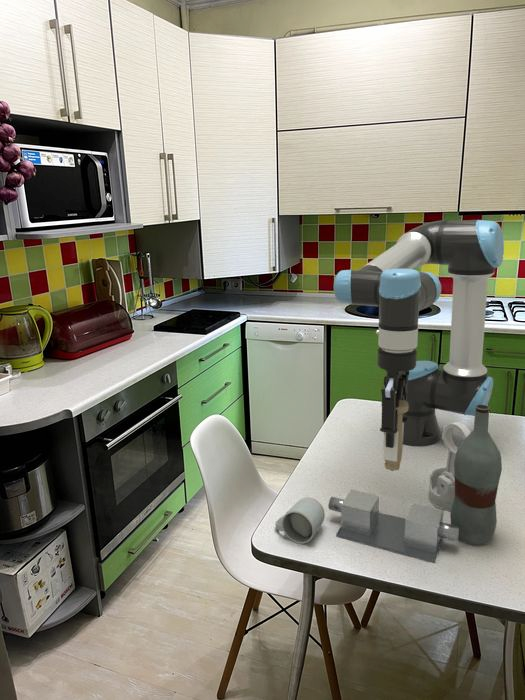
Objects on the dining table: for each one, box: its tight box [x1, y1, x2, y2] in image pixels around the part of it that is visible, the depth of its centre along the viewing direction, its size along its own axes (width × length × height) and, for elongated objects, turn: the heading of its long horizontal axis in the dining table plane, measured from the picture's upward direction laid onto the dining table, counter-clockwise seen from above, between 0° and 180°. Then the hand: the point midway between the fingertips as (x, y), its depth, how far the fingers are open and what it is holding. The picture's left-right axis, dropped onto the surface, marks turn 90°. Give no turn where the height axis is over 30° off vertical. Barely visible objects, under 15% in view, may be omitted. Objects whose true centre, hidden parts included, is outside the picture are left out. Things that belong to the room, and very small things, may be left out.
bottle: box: [449, 404, 503, 547], centre depth 111 cm, size 9×9×30 cm
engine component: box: [428, 421, 472, 512], centre depth 126 cm, size 11×20×10 cm
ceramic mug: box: [274, 497, 326, 545], centre depth 118 cm, size 11×8×8 cm
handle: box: [380, 399, 409, 472], centre depth 110 cm, size 5×6×15 cm
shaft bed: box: [328, 489, 460, 564], centre depth 116 cm, size 12×28×7 cm, turn 63°
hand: (393, 454), depth 111 cm, fingers closed on handle, 4 cm apart
